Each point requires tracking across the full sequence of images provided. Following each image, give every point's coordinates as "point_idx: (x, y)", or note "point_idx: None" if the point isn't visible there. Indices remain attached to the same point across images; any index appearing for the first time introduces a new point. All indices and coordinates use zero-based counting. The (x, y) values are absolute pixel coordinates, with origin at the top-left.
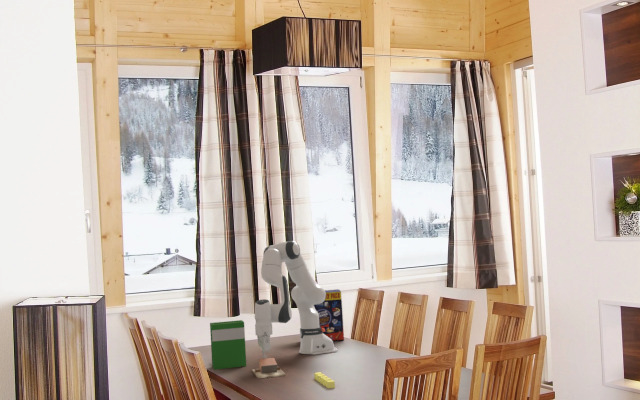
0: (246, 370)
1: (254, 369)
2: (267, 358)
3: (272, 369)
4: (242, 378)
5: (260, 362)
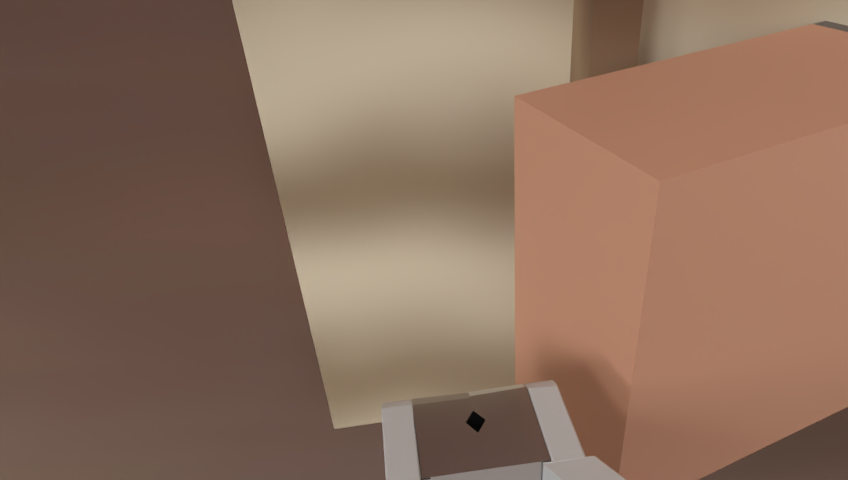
0: (264, 472)
1: (358, 400)
2: (639, 366)
3: None
4: (758, 476)
5: (747, 450)
